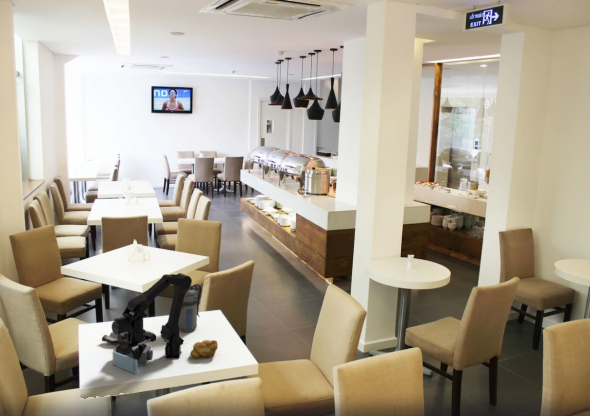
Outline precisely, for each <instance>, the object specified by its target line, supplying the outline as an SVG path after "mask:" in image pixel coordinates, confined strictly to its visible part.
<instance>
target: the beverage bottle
mask: <svg viewBox="0 0 590 416" xmlns="http://www.w3.org/2000/svg"><path fill="white" fill-rule="evenodd" d="M202 289H203V288H202V285H201V284H199V283H197V284H196V283H195V284H193V285H191V286H190V289H189V290H188V291H187V292H186V294H185V296H184V301H183V305H182V309H181V314H180V318H179V322H178V326H179V330H180V332H184V333H186V332H187V333H189V332H192V331H195V330H196V329H197V327H198V317H199V318H201V316H200V315H199V309H200V308H199V306H200V305H199V304H200V300H201V296H202Z"/></svg>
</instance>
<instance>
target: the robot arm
mask: <svg viewBox="0 0 590 416" xmlns="http://www.w3.org/2000/svg"><path fill="white" fill-rule="evenodd" d="M192 283H193V279H192V277H190V276H189V275H188V274H184V273H181V272H178V273H177V274H172V273H171V274H168V273H167V274H162V276H161V278H160V279H158V280H157V281H156V282H155V283H154V284H153V285H152V286H150V287H149V288H148V289H147V290H145V292H144V293H142V294H140V295H137V296H135V297H133V298H132V299H130V300H129V301H128V302H127V305H126V307H125V308H124V311H123V312H122V316H120V317H117V318H114V319H113V321H112V323H111V331H112V332H113V333H114V334H115V335H117V334H118V335H117V338H118V340H121V341H123V340H127V342H130V344H125V343H122V344H120V345H119V344H117V345H118V346H117V345H116V346H115V348H116V352H117V353H120V354H122V355H127V354H129V353H131V352H132V354H133V356H134V359H137V361H139V359H140V357H141V355H142V353H143V351H144V349H145V348H146V347H147V346H148V344H146V342H147V341H149V342H151V343H154V342H155V341H157V334H156V333H154V332H152V333H150V332H151V331H150V332H146V333H144V332H145V330H146V329H144V318H147V317H148V316H149V315H148V314H146V313H145V312H146V310H148V308H149V307H150V304H151V303H152V301H153V300H154V299H156V298H157V297H158V296H160V294H162V292H164V291H165V290H166V289H167V288H168V287H170V286H171V285H173V291H174V293H173V298H172V300H171V301H172V302H171V306H170V311H169V315H168V319H167V322H166V323H165V324H162V325H161V329H160V332H159V333H160V337H161V339H163V342H164V343H166V344H165V346H164V355H165V356H164V358H165V359H180V357H181V355H182V350H181V349H182V346H183V345H184V342H185V339H183V338H182V337H181V336H180V332H181V331H180V330H179V326H178V322H179V318H180V314H181V309H182V305H183V301H184V296H185V294H186V292H187V291H188V290H189V289H190V286H192ZM143 333H144V334H143ZM153 333H154V334H153Z"/></svg>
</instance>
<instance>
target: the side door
mask: <svg viewBox="0 0 590 416" xmlns="http://www.w3.org/2000/svg"><path fill="white" fill-rule="evenodd" d="M112 365H113V366H116V367H118V368H121V369H123V370H126V371H129V372H131V373H133V374H137V373H138V365H137V359H134V358H131V357H129V356H126V355H122V354H120V353H117V352H115V351H112Z"/></svg>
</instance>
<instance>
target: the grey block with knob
mask: <svg viewBox="0 0 590 416" xmlns="http://www.w3.org/2000/svg"><path fill="white" fill-rule="evenodd" d="M118 345H119V344H116V347H117V346H118ZM116 347H115V348H114V349H113V351H115V352H116ZM113 351H112V352H113ZM126 356H129V357H131V358H134V356H133V354H132V352H131V353H129V354H127V355H126ZM153 357H154V351H153V349H151V346H150V345H147V347H146V348H145V349H144V351H143V353H142V355H141V357H140V359H139V361H137V366H147V364H148V363H149V361H152V360H153Z"/></svg>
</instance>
